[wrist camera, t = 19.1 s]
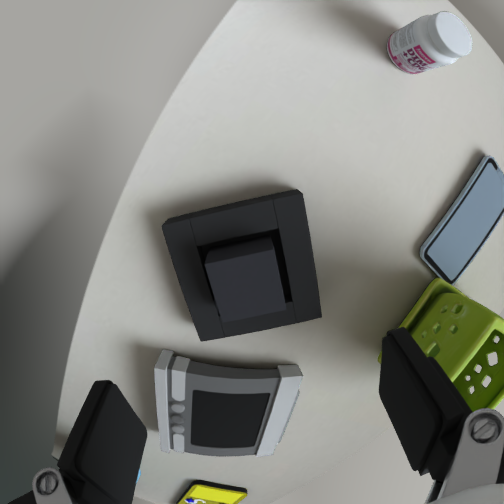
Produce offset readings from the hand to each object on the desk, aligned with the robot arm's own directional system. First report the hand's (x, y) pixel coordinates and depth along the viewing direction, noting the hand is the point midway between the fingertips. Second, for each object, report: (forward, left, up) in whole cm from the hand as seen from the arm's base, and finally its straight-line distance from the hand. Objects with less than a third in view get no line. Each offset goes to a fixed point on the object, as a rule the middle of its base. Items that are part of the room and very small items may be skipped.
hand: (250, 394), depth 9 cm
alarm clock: (-2, -23, -20) cm, 31 cm away
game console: (-6, -56, -20) cm, 60 cm away
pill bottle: (+15, +19, -20) cm, 31 cm away
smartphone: (+25, +3, -20) cm, 32 cm away
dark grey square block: (0, -3, -19) cm, 19 cm away
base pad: (0, -3, -20) cm, 20 cm away
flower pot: (+23, -11, -20) cm, 33 cm away
